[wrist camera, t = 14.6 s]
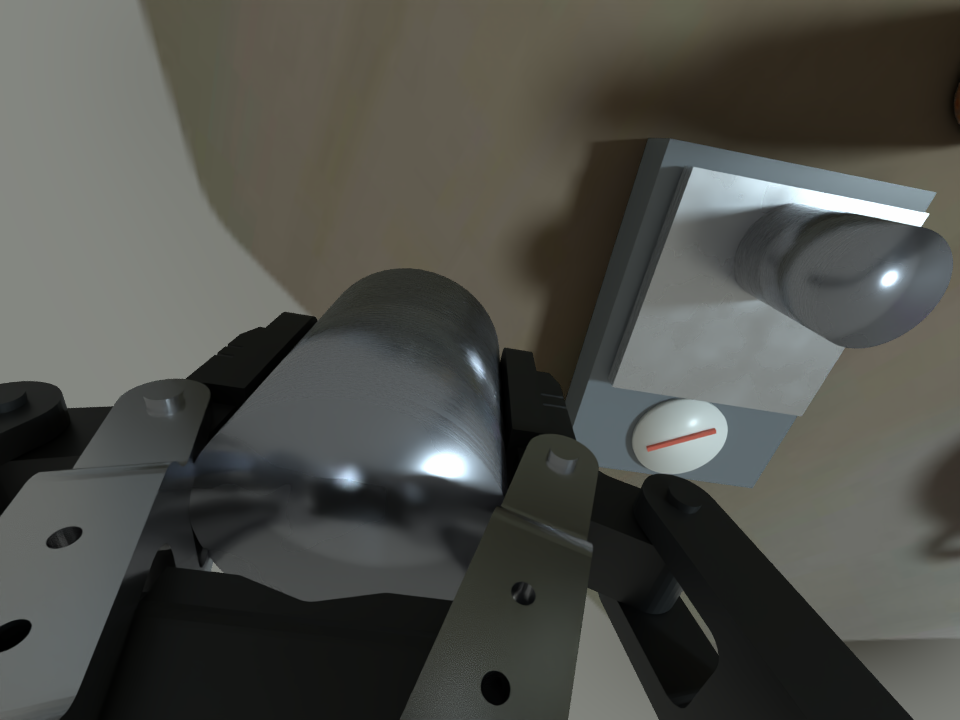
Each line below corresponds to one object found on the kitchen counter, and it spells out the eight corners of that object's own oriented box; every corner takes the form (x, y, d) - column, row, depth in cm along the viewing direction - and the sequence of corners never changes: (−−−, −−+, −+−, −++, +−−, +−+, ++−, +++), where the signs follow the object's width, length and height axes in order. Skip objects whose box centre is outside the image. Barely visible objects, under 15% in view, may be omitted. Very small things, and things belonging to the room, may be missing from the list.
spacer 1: (515, 286, 11) (543, 430, 6) (482, 435, 13) (480, 641, 8) (323, 252, 11) (159, 373, 5) (323, 412, 13) (207, 611, 7)
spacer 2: (853, 212, 21) (983, 239, 15) (802, 305, 23) (900, 356, 18) (761, 194, 20) (860, 215, 15) (717, 290, 23) (791, 338, 17)
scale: (886, 186, 24) (948, 194, 21) (730, 459, 33) (757, 494, 30) (648, 138, 23) (675, 138, 20) (554, 434, 32) (562, 467, 29)
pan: (910, 210, 22) (929, 213, 21) (791, 407, 27) (801, 416, 26) (684, 165, 21) (693, 166, 20) (607, 378, 26) (612, 387, 25)
